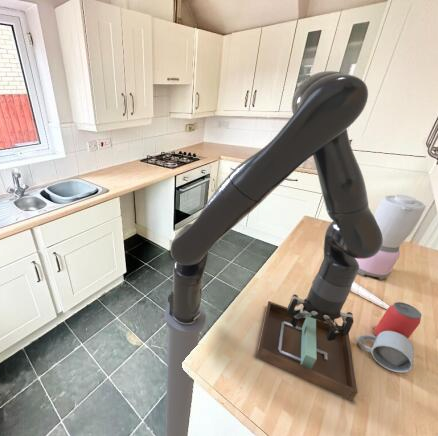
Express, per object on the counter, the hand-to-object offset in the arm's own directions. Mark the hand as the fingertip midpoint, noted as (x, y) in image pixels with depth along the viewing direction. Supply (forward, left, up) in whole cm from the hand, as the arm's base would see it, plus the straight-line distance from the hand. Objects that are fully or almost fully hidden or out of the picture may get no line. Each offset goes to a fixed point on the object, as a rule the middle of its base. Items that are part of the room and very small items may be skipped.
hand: (310, 331), depth 70 cm
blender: (+21, +50, -4) cm, 54 cm away
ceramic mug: (+18, +5, -4) cm, 19 cm away
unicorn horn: (+15, +31, -4) cm, 35 cm away
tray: (-1, -3, -4) cm, 5 cm away
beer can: (+21, +13, -4) cm, 25 cm away
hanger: (0, -3, -4) cm, 5 cm away
